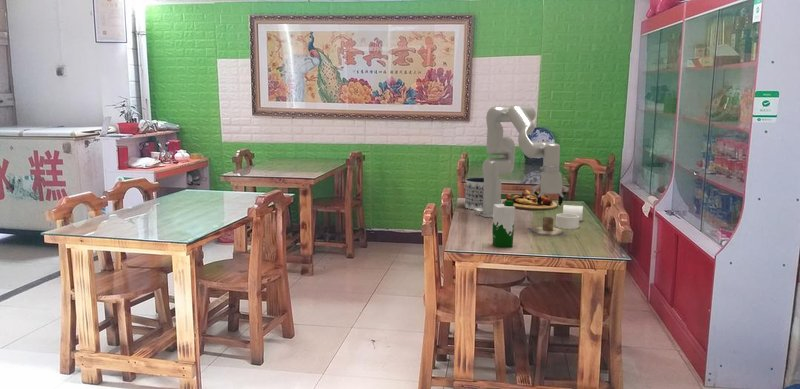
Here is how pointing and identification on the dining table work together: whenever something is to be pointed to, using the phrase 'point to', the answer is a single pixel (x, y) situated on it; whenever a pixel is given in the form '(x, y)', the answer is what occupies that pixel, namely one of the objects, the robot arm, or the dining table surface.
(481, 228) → the dining table surface
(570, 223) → the bowl
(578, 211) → the mug
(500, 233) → the milk carton
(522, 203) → the wooden plate with food
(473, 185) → the planter
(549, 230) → the lid
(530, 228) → the mat
